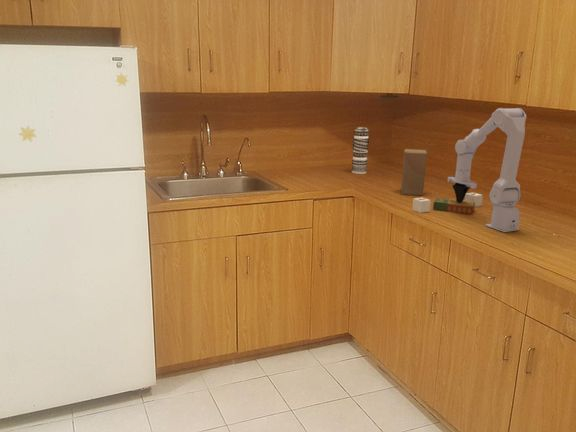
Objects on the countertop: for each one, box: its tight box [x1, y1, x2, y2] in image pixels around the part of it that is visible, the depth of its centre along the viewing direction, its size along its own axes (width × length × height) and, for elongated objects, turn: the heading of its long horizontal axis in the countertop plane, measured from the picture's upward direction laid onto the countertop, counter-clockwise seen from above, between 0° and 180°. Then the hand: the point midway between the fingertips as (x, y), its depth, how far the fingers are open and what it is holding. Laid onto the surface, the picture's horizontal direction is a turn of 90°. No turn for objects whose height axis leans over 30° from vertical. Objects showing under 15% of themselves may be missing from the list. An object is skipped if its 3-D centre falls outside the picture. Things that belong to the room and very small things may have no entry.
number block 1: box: [412, 197, 432, 214], centre depth 223 cm, size 5×5×5 cm
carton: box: [432, 196, 476, 215], centre depth 226 cm, size 8×16×4 cm, turn 67°
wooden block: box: [400, 148, 428, 196], centre depth 253 cm, size 10×10×20 cm
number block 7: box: [464, 192, 484, 208], centre depth 235 cm, size 5×5×5 cm
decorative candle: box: [351, 126, 370, 175], centre depth 299 cm, size 9×9×25 cm
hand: (459, 201), depth 223 cm, fingers closed
